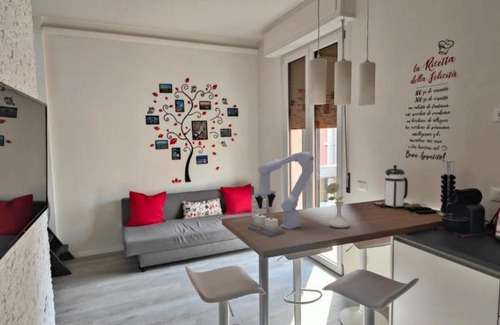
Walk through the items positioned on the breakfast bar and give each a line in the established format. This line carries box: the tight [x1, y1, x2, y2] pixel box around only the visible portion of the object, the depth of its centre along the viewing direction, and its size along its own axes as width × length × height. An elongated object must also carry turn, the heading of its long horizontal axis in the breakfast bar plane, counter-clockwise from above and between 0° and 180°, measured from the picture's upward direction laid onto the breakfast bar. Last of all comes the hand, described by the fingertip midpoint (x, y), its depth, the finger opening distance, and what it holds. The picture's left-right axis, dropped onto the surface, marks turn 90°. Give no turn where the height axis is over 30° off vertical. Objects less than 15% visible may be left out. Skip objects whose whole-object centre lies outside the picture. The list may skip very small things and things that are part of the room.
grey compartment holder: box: [247, 216, 286, 238], centre depth 175 cm, size 10×19×8 cm, turn 38°
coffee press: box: [382, 164, 409, 210], centre depth 229 cm, size 17×16×30 cm
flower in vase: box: [325, 182, 350, 229], centre depth 182 cm, size 13×11×25 cm
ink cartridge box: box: [251, 194, 268, 219], centre depth 204 cm, size 9×5×15 cm, turn 68°
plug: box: [253, 214, 267, 225], centre depth 179 cm, size 4×6×7 cm, turn 37°
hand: (265, 207), depth 190 cm, fingers open, 7 cm apart
